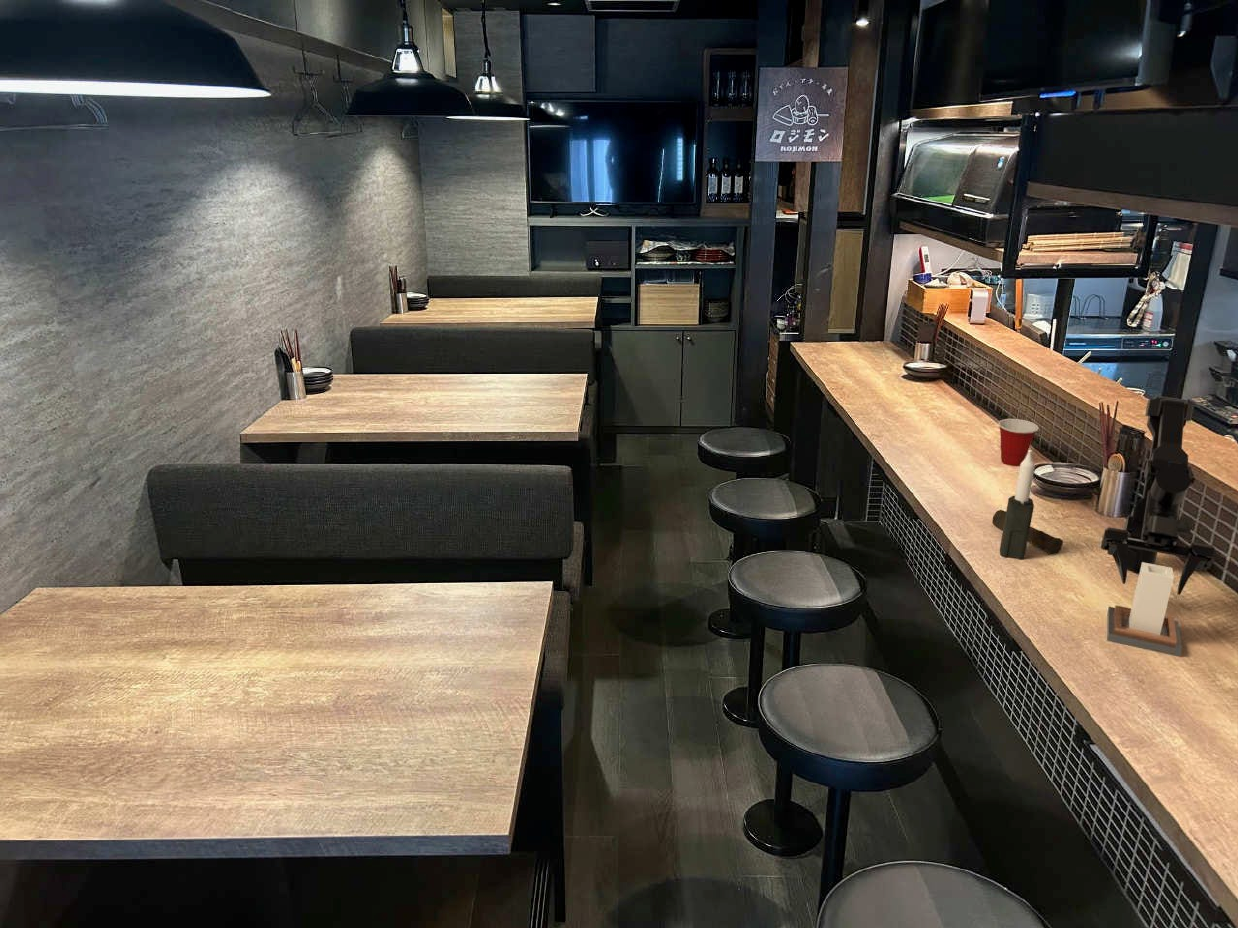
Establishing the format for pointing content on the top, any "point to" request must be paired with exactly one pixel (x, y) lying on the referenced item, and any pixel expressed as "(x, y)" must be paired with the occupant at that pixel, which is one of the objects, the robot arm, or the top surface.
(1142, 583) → the sleeve
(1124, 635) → the seat plate
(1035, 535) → the hand tool
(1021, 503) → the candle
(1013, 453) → the plastic cup
